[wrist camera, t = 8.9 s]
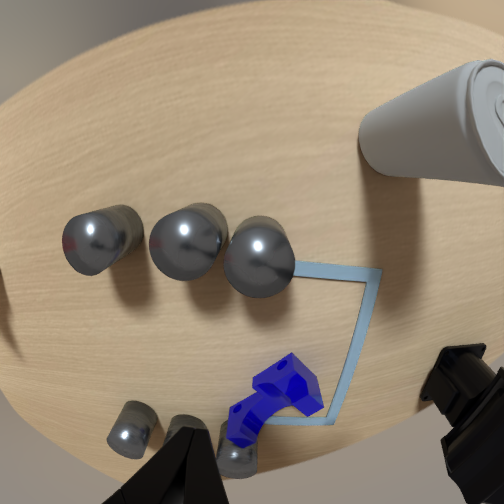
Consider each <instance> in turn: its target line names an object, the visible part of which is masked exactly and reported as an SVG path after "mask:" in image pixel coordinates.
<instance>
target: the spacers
mask: <svg viewBox="0 0 504 504" xmlns="http://www.w3.org/2000/svg"><path fill="white" fill-rule="evenodd" d="M227 233H228V227H227V222H226V219H225V217H224V215H223V214H222V213H221V211H220V210H219V209H217V208H216V207H214V206H213V205H210V204H207V203H195V204H191V205H189V206H187V207H184V208H182V209H180V210H178V211H175V212H173V213H171V214H169V215H166V216H165V217H163V218H162V219H160V220H159V221H158V222H157V223H156V225H155V226H154V228H153V230H152V232H151V235H150V239H149V250H150V254H151V257H152V260H153V262H154V263H155V265H156V266H157V268H158V269H159V270H160V271H161V272H162V273H164V274H165V275H167V276H168V277H170V278H172V279H175V280H180V281H190V280H194V279H197V278H199V277H201V276H203V275H204V274H205V273H206V272H207V271H208V270H209V269H210V268H211V266H212V265H213V263H214V261H215V259H216V257H217V255H218V253H219V252H220V250H221V248H222V246H223V244H224V242H225V240H226V238H227ZM142 238H143V224H142V221H141V218H140V217H139V215H138V214H137V212H136V211H135V210H133V209H132V208H131V207H129V206H126V205H115V206H111V207H107V208H104V209H100V210H96V211H92V212H89V213H85V214H81V215H78V216H75V217H73V218H72V219H71V220H70V221H69V222H68V223H67V225H66V226H65V228H64V231H63V236H62V245H63V251H64V254H65V256H66V259H67V260H68V262H69V264H70V265H71V266H72V267H73V268H74V269H75V270H76V271H77V272H79V273H81V274H83V275H87V276H93V275H97V274H99V273H100V272H102V271H103V270H105V269H106V268H108V267H109V266H111V265H112V264H114V263H115V262H117V261H118V260H120V259H121V258H123V257H125V256H126V255H128V254H129V253H131V252H132V251H134V250H135V249H136V248H137V247H138V246H139V245H140V243H141V241H142ZM224 271H225V275H226V277H227V279H228V281H229V283H230V284H231V285H232V286H233V287H234V288H235V289H236V290H237V291H238V292H240V293H242V294H244V295H246V296H249V297H253V298H266V297H270V296H273V295H275V294H277V293H279V292H281V291H282V290H283V289H284V288H285V287H286V286H287V285H288V284H289V283H290V281H291V279H292V277H293V275H294V271H295V257H294V253H293V250H292V248H291V245H290V243H289V240H288V238H287V236H286V233H285V231H284V229H283V227H282V226H281V225H280V224H279V223H278V222H277V221H276V220H274V219H272V218H270V217H267V216H253V217H250V218H248V219H246V220H244V221H243V222H242V223H241V224H240V225H239V226H238V227H237V229H236V231H235V233H234V235H233V237H232V239H231V242H230V244H229V246H228V248H227V250H226V253H225V256H224ZM156 421H157V415H156V413H155V411H154V410H153V409H152V408H151V407H149V406H148V405H146V404H144V403H142V402H139V401H128V402H127V403H126V404H125V405H124V407H123V409H122V411H121V413H120V415H119V416H118V418H117V420H116V422H115V424H114V426H113V428H112V430H111V432H110V433H109V435H108V437H107V443H108V445H109V446H110V447H111V448H112V449H113V450H114V451H115V452H117V453H118V454H120V455H122V456H124V457H127V458H130V459H141V458H142V457H143V455H144V452H145V450H146V447H147V445H148V442H149V439H150V437H151V434H152V432H153V429H154V427H155V424H156ZM182 426H190V427H194V428H195V429H196V428H205V429H206V426H205V424H204V423H203V422H202V421H201V420H200V419H198V418H196V417H194V416H190V415H177V416H174V417H173V418H172V420H171V422H170V425H169V428H168V431H167V434H166V437H165V440H164V443H163V446H164V444H165V443H166V442H167V441H168V440H169V439H170V438H171V437H172V436H173V435H174V434H175V433H176V432H177V431H178V430H179V429H180V428H181V427H182ZM227 426H228V420H227V421H225V422H224V423H223V424H222V425H221V430H220V436H219V442H218V449H217V455H216V461H217V465H218V468H219V472H220V475H222V476H225V477H228V478H234V479H243V478H248V477H251V476H253V475H255V474H256V472H257V450H258V436H257V441H256V443H254V444H252V445H250V446H247V447H245V448H241V447H239V446H238V445H236V444H235V443H233V442H232V441H230V440H229V439H227V438H226V434H227ZM163 446H162V447H163Z"/></svg>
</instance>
